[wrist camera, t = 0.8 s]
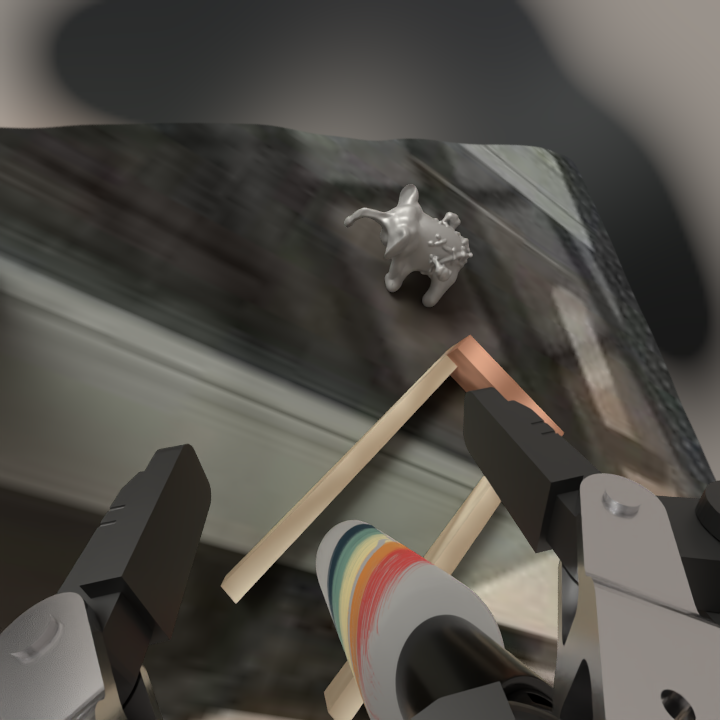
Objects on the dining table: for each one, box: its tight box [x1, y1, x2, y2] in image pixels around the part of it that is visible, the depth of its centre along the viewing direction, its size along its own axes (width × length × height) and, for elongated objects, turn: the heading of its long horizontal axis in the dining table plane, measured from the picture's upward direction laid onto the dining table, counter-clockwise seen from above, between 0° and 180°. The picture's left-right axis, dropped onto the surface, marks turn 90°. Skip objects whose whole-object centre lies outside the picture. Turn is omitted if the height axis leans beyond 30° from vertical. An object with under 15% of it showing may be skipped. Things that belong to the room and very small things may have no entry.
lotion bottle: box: [316, 520, 554, 720], centre depth 16 cm, size 6×6×20 cm
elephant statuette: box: [344, 184, 473, 307], centre depth 31 cm, size 9×12×8 cm
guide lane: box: [221, 335, 564, 720], centre depth 26 cm, size 12×27×4 cm, turn 135°
